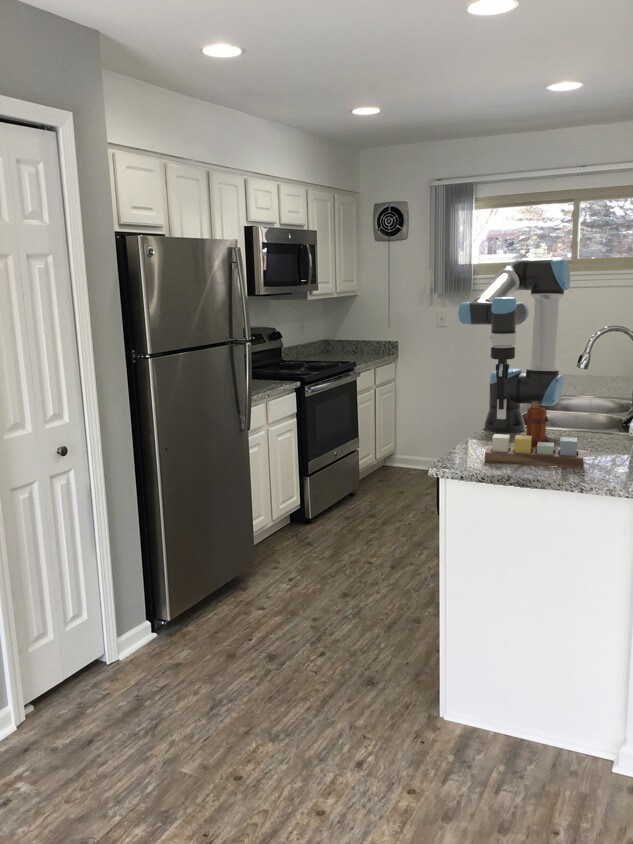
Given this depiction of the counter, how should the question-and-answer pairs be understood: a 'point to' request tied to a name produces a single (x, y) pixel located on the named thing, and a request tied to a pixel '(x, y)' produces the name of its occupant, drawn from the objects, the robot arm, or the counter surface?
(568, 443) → the key slate
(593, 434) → the counter surface
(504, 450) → the key cream
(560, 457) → the keypad board
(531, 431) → the orange bottle
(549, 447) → the key sage
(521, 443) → the key mustard
